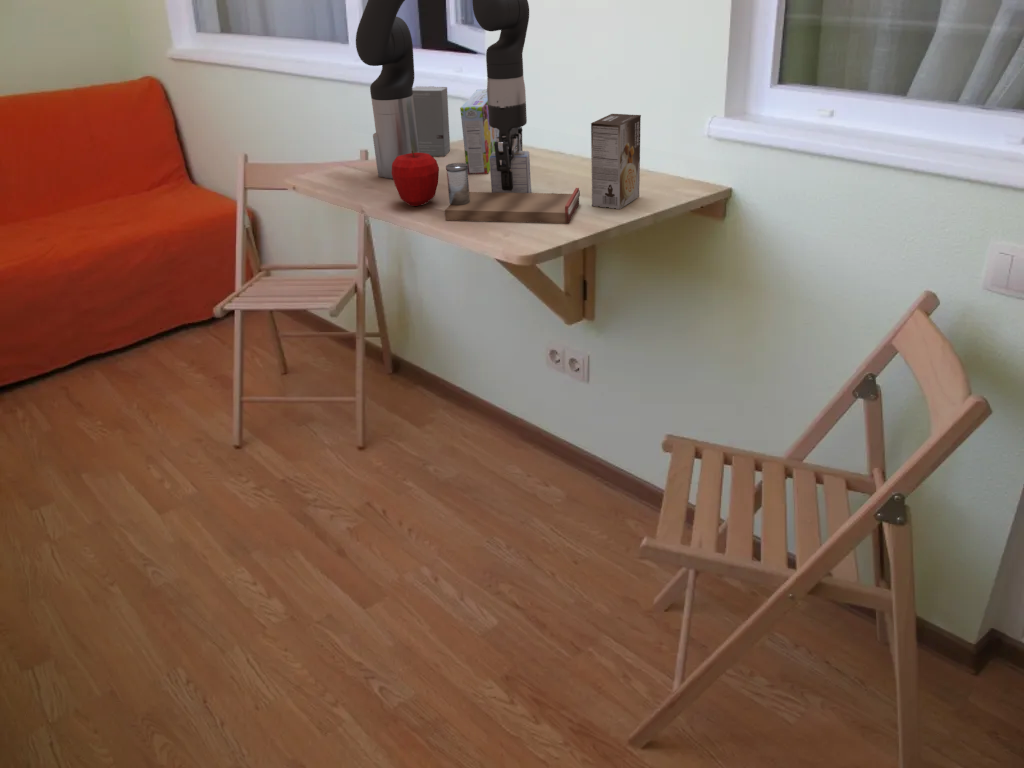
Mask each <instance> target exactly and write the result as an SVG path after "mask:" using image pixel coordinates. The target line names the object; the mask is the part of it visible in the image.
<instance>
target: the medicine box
mask: <svg viewBox="0 0 1024 768" xmlns="http://www.w3.org/2000/svg"><path fill="white" fill-rule="evenodd" d="M489 161H490V171H489V172H490V175H489V176H490V185H491V187H490V188H491V192H498V193H532V183H531V181H532V180H531V163H530V161H531V159H530V150H522V151H516V155H515V160H514V161H513V166H512V168H513V170H512V176H513V189H512V190H502V183H501V172H500V171H497V166H496V156H495V152H492V154H491V155H490V157H489ZM503 165H506V161H505V160H504V161H503Z"/></svg>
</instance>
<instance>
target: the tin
mask: <svg viewBox="0 0 1024 768" xmlns="http://www.w3.org/2000/svg"><path fill="white" fill-rule="evenodd" d="M467 169H468V165H467V164H466V162H452V163H448V164H447V165H445V171H446V179H447V188H448V201H449V205H450V204H451V205H465V204H468V203H470V196H469V192H470V185H469V174H468V171H467Z"/></svg>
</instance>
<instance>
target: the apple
mask: <svg viewBox="0 0 1024 768" xmlns="http://www.w3.org/2000/svg"><path fill="white" fill-rule="evenodd" d="M439 174H440V167H439V164H438V162H437V159H436V158H434V156H431V155H430V154H427V153H413V150H412V153H409V154H405V155H400V156H397V157H396V159H395V160H394V161H393V163H392V177H393V183H394V187H395V188H396V192H398V195H399V198H400V199H401V201H403V202H405V203H406V204H407V205H408V206H410V207H418V206H419V207H420V206H423V205H425V204H428V203H429V202H430V201H431V200H432V199H434V198H435V196H436V193H437V188H438V185H439V179H440V178H439Z"/></svg>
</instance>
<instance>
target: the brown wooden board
mask: <svg viewBox="0 0 1024 768" xmlns="http://www.w3.org/2000/svg"><path fill="white" fill-rule="evenodd" d="M469 196H470V203H468V204H465V205H451V204H450V203H449V205H448V206H447V207H446V208H445V209H444V215H445V221H461V220H468V221H467V222H469V221H470V222H502V223H503V222H504V223H505V222H507V223H539V224H540V223H541V224H542V223H544V224H546V223H547V224H569V223H570V221H571V219H572V218H573V215H575V212H576V210H577V209H578V207H579V205H580V196H581V190H580V187H575V189H574V190H573V192H572V193H557V192H556V193H555V192H553V193H551V192H550V193H548V192H545V193H543V192H542V193H541V192H531V193H498V192H492V191H489V192H487V191H486V192H484V191H469ZM472 220H473V221H472Z"/></svg>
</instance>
